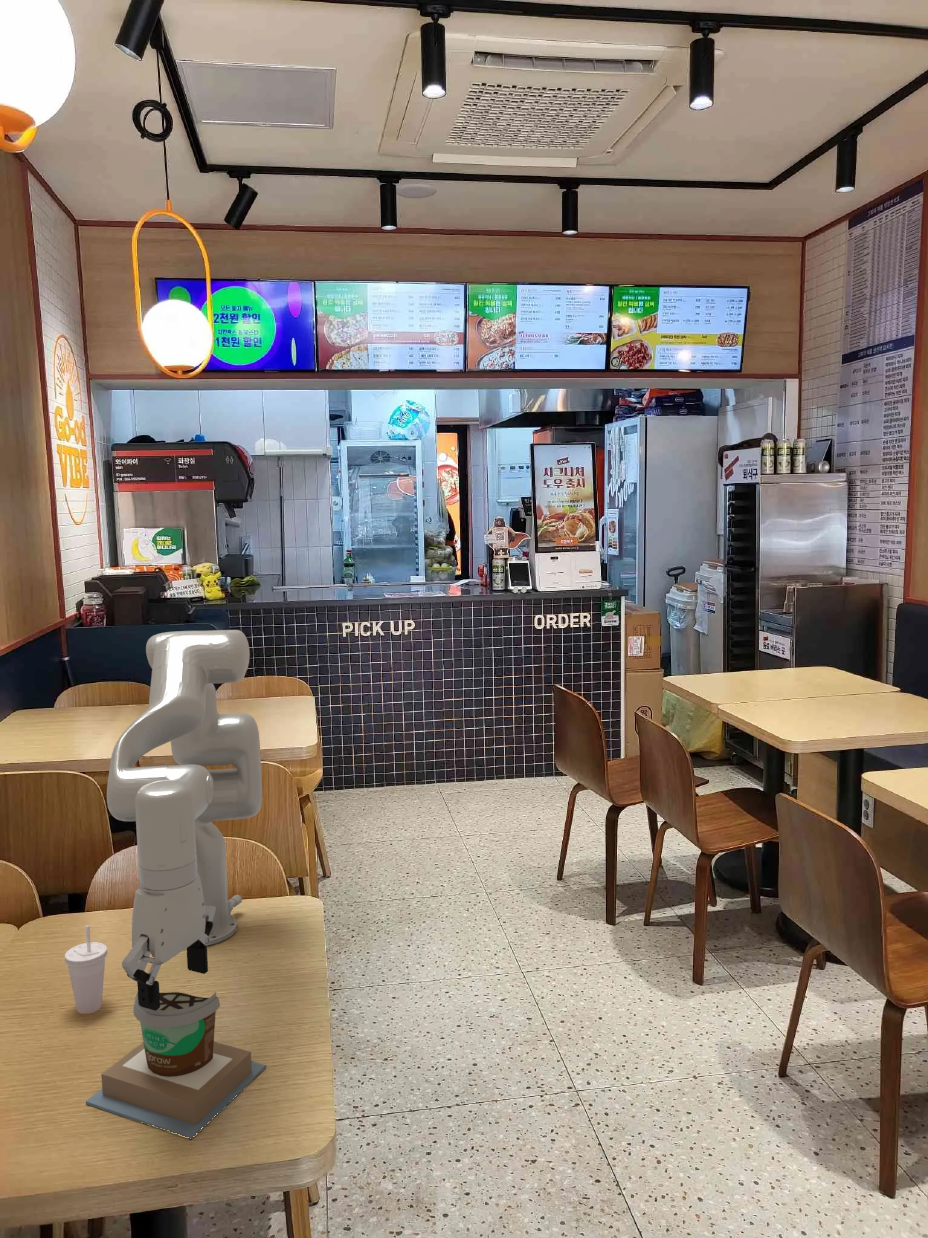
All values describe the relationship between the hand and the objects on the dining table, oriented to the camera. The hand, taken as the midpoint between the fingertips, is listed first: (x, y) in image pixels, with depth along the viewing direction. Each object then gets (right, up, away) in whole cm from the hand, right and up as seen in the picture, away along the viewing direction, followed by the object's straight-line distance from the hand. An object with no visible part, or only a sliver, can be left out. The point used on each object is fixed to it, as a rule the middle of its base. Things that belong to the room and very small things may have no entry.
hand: (174, 988), depth 122 cm
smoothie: (-21, -12, +21) cm, 32 cm away
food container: (0, -11, -1) cm, 11 cm away
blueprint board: (0, -14, +1) cm, 14 cm away
